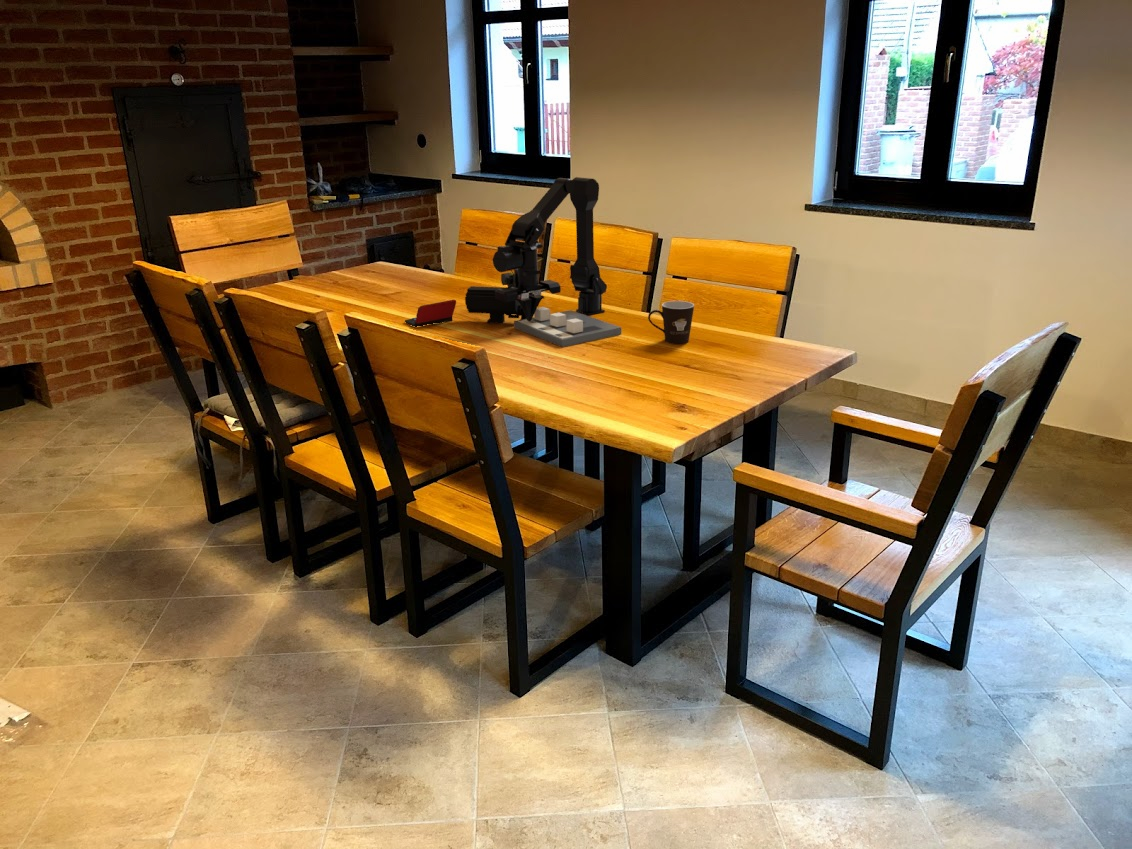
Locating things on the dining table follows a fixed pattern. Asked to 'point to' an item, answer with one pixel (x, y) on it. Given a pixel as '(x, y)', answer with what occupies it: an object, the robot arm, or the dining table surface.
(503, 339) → the dining table surface
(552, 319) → the tab
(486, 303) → the security camera
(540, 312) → the tab
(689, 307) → the coffee mug
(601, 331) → the switch bank
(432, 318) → the handheld game console
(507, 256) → the robot arm
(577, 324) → the tab
